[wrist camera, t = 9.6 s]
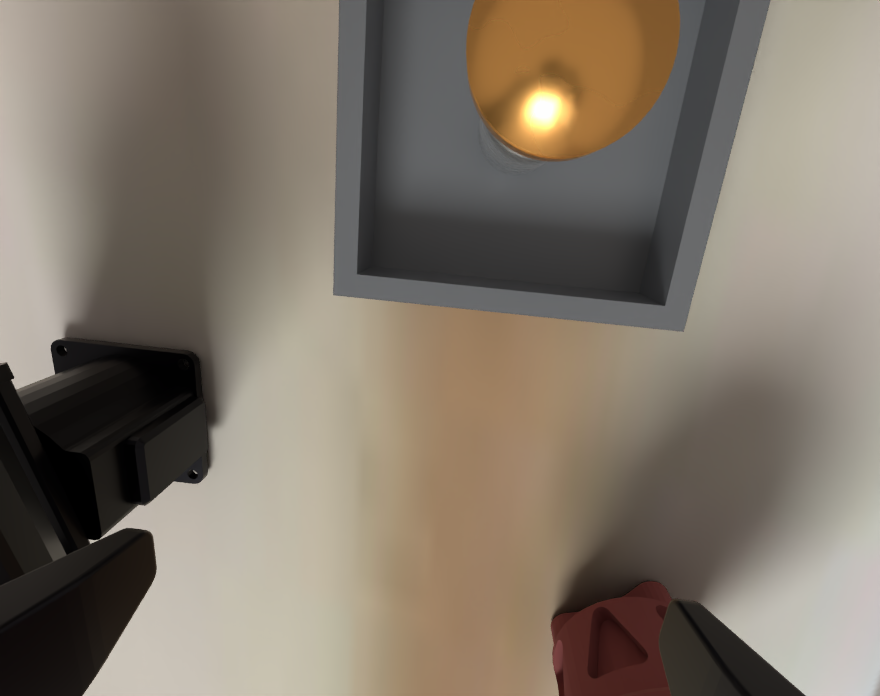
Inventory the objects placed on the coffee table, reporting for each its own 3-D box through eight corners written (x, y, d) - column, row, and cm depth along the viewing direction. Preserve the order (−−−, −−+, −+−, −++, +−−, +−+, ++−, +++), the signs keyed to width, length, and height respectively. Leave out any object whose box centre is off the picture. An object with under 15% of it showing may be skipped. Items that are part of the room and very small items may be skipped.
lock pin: (465, 179, 16) (456, 148, 8) (475, 74, 15) (478, -93, 7) (558, 187, 16) (652, 165, 8) (575, 82, 15) (705, -79, 7)
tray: (354, 281, 18) (333, 295, 16) (367, -77, 15) (342, -146, 12) (649, 312, 18) (683, 331, 15) (735, -52, 14) (800, -117, 12)
